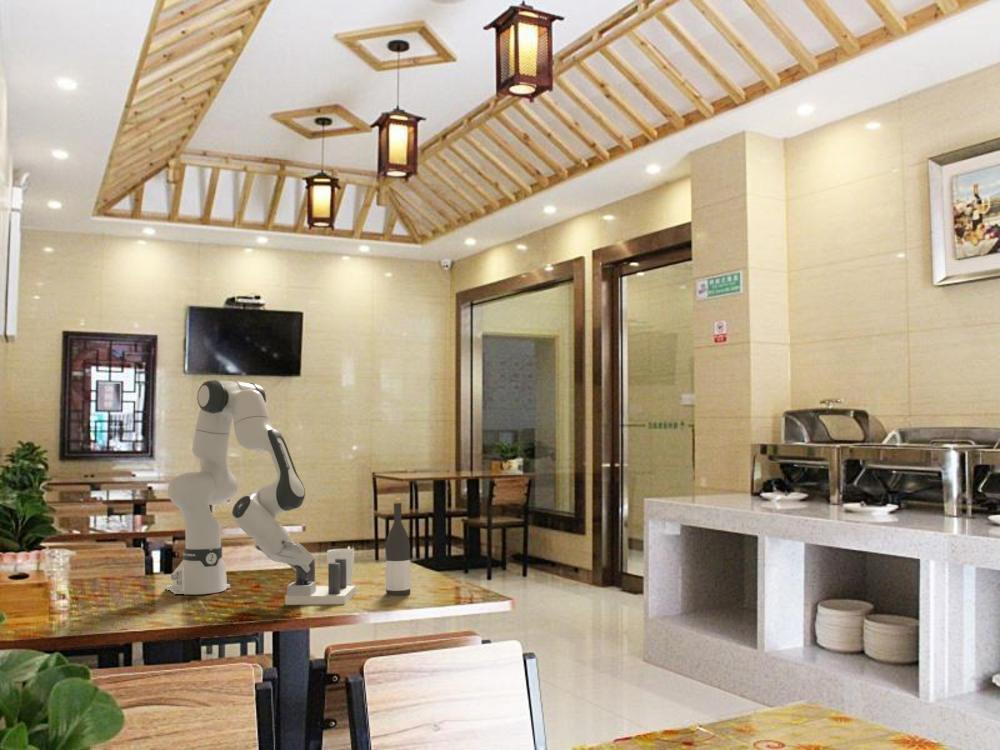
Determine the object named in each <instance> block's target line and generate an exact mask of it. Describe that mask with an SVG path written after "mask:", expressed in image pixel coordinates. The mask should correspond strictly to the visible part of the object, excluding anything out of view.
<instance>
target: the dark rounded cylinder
mask: <svg viewBox="0 0 1000 750" xmlns="http://www.w3.org/2000/svg"><path fill="white" fill-rule="evenodd" d="M295 582H296V585H308V572H304V571H303V570H302V568H301V566H298V565H296V570H295Z"/></svg>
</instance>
